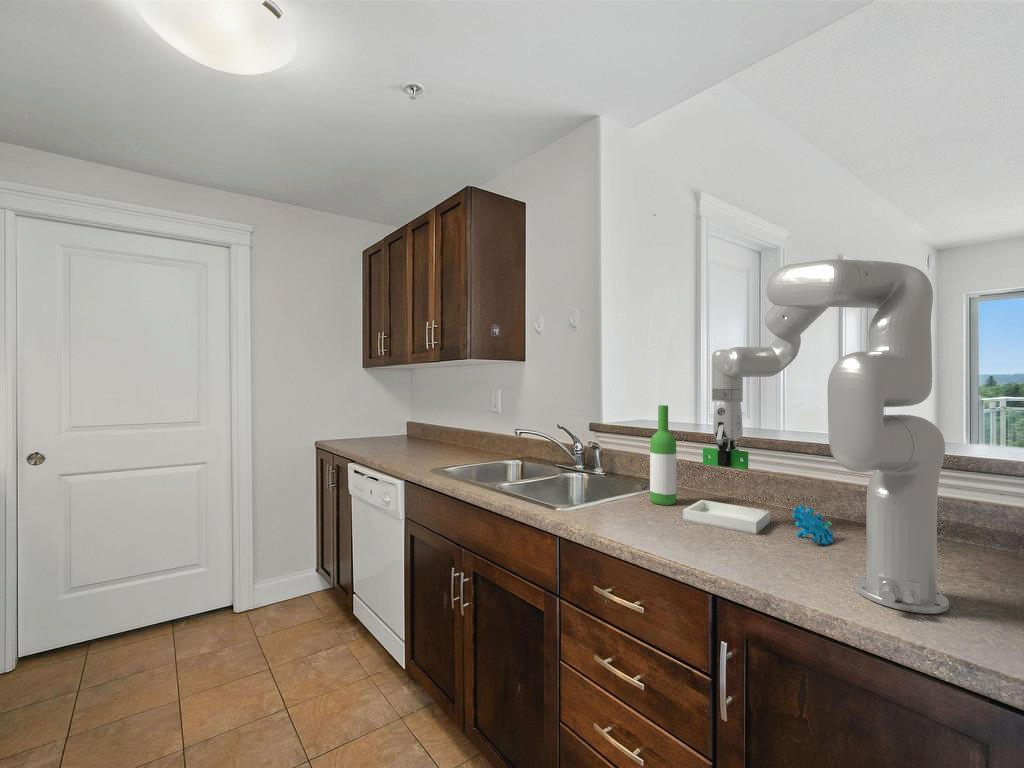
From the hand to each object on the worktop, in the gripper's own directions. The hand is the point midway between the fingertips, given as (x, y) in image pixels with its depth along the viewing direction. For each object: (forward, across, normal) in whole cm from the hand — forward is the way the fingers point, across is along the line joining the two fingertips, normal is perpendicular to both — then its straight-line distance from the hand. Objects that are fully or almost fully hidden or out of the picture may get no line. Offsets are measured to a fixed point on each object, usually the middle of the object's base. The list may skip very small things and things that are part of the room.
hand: (726, 464), depth 128 cm
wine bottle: (+16, +8, +21) cm, 27 cm away
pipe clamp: (+1, 0, 0) cm, 1 cm away
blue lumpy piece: (+16, -2, -20) cm, 26 cm away
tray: (+15, 0, 0) cm, 15 cm away
